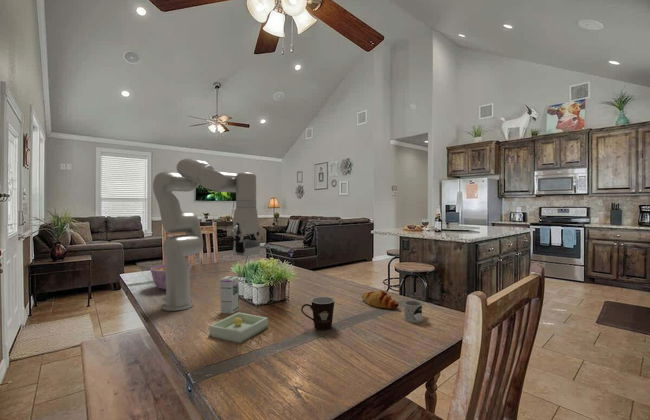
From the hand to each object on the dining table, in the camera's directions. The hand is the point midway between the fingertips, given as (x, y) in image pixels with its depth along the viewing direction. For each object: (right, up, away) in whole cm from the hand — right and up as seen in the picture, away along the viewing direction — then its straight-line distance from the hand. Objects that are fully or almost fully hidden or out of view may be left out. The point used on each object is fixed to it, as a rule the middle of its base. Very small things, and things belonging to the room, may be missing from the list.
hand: (246, 250), depth 122 cm
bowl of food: (-53, -27, +50) cm, 78 cm away
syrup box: (-10, -28, +13) cm, 33 cm away
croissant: (+55, -27, +22) cm, 65 cm away
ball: (-1, -25, -4) cm, 25 cm away
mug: (+66, -28, +4) cm, 71 cm away
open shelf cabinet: (0, -1, 0) cm, 1 cm away
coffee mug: (+28, -28, -4) cm, 40 cm away
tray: (-1, -28, -8) cm, 29 cm away
